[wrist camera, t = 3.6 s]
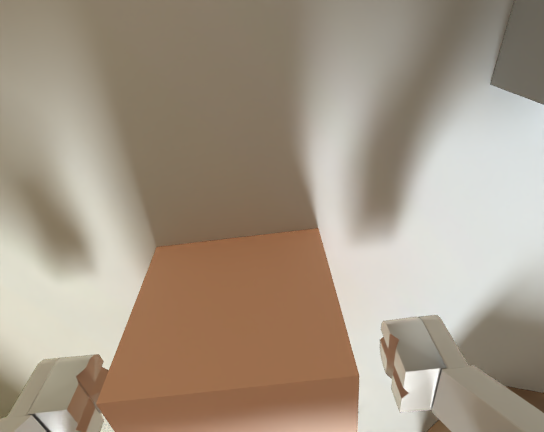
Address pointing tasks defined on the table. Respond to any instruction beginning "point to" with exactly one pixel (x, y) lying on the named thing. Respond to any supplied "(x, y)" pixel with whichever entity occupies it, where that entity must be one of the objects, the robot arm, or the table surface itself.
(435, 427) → the walnut cube
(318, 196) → the table surface
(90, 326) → the table surface
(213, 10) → the table surface
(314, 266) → the terracotta cube
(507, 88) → the slate grey cube
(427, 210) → the table surface
